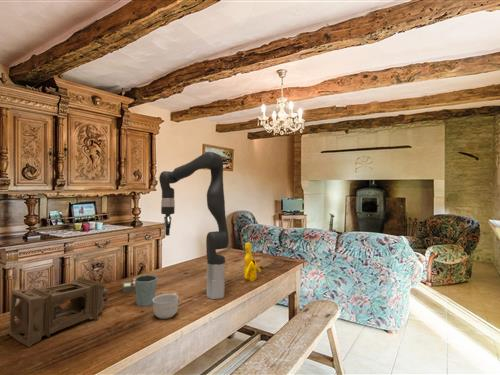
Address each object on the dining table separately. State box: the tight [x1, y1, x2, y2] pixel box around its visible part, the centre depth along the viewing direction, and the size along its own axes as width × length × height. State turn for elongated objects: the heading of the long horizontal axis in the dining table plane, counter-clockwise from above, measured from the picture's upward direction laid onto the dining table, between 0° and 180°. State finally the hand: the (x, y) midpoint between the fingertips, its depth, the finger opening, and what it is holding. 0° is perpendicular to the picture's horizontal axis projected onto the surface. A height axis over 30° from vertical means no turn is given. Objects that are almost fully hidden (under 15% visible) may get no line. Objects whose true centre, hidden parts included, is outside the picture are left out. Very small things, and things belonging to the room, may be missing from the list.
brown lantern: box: [8, 275, 109, 348], centre depth 123 cm, size 35×18×18 cm, turn 148°
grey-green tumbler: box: [134, 274, 158, 307], centre depth 144 cm, size 10×10×12 cm
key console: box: [121, 277, 136, 294], centre depth 163 cm, size 12×14×4 cm
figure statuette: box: [243, 242, 262, 282], centre depth 182 cm, size 18×8×22 cm, turn 147°
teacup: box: [152, 292, 179, 320], centre depth 132 cm, size 14×11×8 cm
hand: (167, 235), depth 175 cm, fingers closed
